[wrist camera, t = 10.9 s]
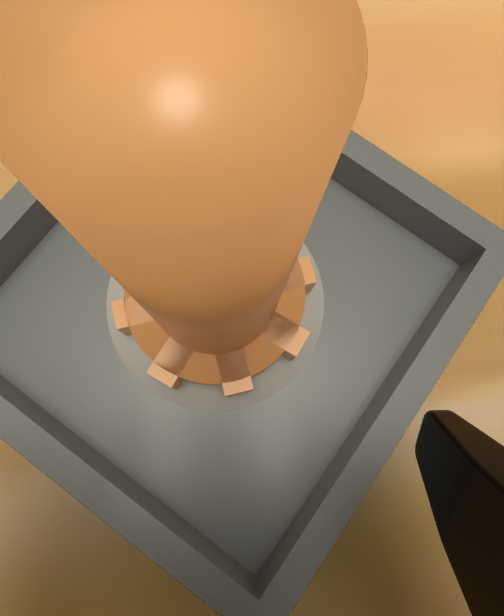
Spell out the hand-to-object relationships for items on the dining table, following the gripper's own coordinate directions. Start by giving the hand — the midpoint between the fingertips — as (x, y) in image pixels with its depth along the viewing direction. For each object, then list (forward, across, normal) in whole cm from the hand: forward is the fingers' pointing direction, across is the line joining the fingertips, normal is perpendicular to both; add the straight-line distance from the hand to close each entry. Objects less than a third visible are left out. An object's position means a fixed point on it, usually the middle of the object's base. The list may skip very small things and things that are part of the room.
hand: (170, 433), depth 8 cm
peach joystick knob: (+10, -1, +3) cm, 10 cm away
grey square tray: (+11, -1, +3) cm, 11 cm away
